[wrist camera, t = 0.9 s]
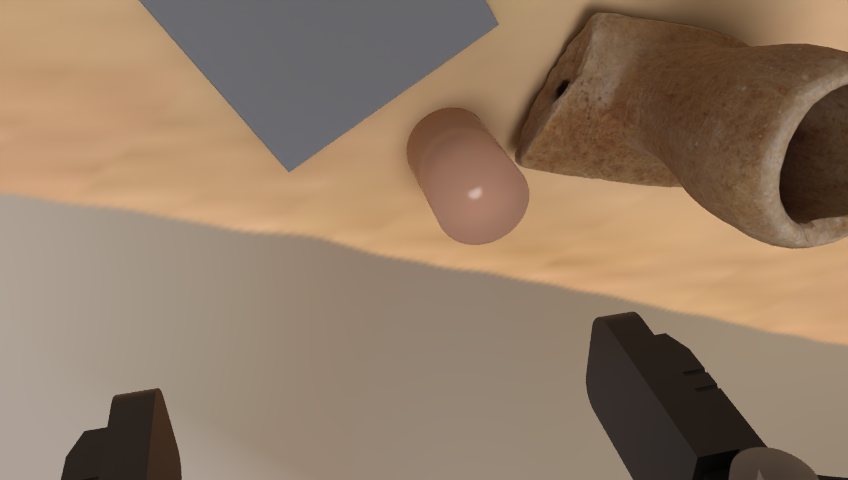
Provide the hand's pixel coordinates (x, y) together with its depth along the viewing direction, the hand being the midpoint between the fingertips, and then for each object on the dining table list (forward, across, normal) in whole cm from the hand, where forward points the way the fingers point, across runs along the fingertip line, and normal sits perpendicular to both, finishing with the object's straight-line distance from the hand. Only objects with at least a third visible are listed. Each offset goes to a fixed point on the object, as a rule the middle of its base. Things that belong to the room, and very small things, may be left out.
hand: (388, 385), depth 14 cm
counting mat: (+29, -2, +1) cm, 29 cm away
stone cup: (+30, -21, +7) cm, 37 cm away
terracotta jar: (+29, -8, +10) cm, 32 cm away
